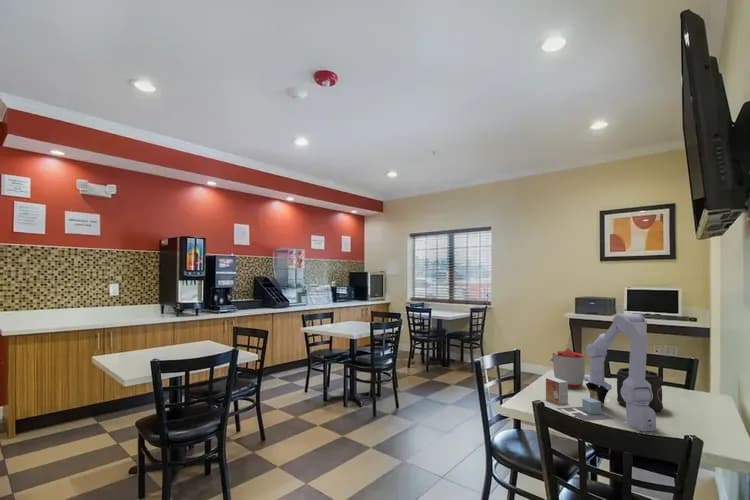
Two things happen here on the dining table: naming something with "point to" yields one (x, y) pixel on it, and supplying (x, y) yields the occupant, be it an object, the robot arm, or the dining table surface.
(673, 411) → the dining table surface
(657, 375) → the wooden barrel
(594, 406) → the blue cube
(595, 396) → the maple block
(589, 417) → the letter mat
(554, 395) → the small box
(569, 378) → the citrus juicer
